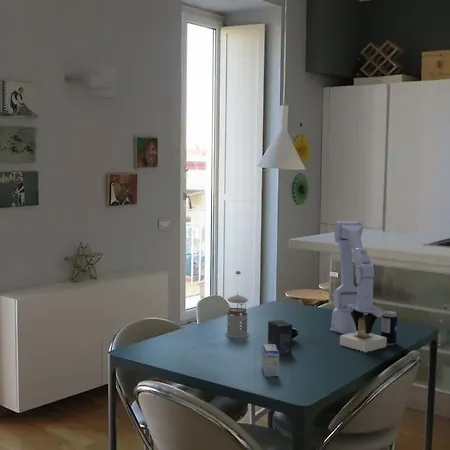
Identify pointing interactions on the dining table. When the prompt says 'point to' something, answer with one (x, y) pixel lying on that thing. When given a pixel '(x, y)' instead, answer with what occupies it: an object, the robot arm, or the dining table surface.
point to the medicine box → (270, 360)
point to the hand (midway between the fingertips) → (363, 332)
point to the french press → (237, 317)
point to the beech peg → (362, 329)
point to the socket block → (363, 342)
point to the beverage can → (389, 326)
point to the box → (280, 336)
